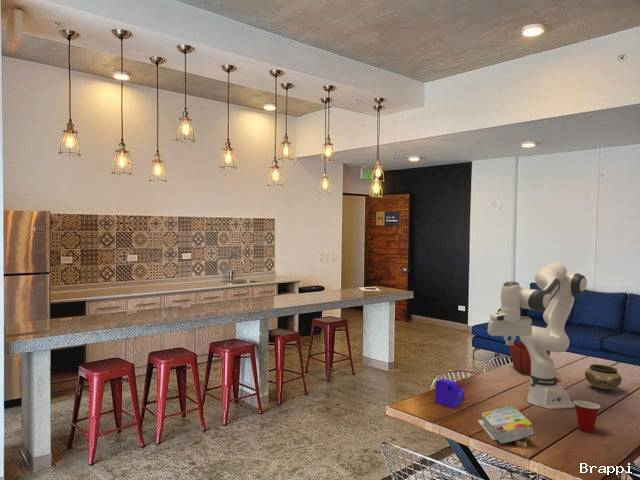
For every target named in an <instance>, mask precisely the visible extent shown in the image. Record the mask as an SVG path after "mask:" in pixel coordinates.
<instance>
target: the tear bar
mask: <svg viewBox="0 0 640 480" xmlns="http://www.w3.org/2000/svg"><path fill="white" fill-rule="evenodd" d="M513 443H514V444H515V445H516V446H517V447H527V445H528V444H527V443H528V438H527V437H526V438H522V439H518V440H514V441H513Z"/></svg>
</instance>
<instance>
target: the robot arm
mask: <svg viewBox="0 0 640 480" xmlns="http://www.w3.org/2000/svg"><path fill="white" fill-rule="evenodd" d="M534 281H535V284H536V285H537V287H538V288H539V289H532V288H526V287H522V286H520V285H521V284H520V283H519V282H518V281H506V282H503V284H502V286H501V290H500V304H501V306H500V310H499V311H497V312H494V313H491V314H489V318H490V320H489V321H488V324H487V334H488V335H489V336H491V337H494V336H495V337H503V339H504V341H505V346H509V345H513V342H515V340H516V338H517V337H519V340H520V342H522V343H523V344H524V345H525V346H526V348H527V350H528V352H529V355H530V358H531V374H530V375H529V388H528V389H529V391H528V394H527V398H526V401H527V403H530V404H531V405H534V406H537V407H541V408H544V409H548V410H553V409H554V410H557V409H570V408H571V409H575V404H574V401H573V400H570V394H569V392H567V391H566V390H565V389H564V388H563V387H562V386H561V385H559V384H561V383H563V381H562V379H560V378H558V377H556V376H555V361H554V360H553V358H552V357H551V356H548V354H547V352H546V350H547V351H551V352H552V353H564V352H566V351H567V350H568V348H569V347H570V339H569V336H568V334H567V333H566V331H565V326H566V322H567V321H568V318H569V316H570V314H571V311H572V309H573V306H574V303H575V298H576V297H579V295H581V294H582V293H584V292H585V291H586V288H587V283H588V282H587V278H586V276H585V275H583V274H580V273H578V272H577V273H575V272H573V271H572V272H571V271H568V270H567V267H566V265H565V264H564V263H562V262H558V261H555V262H551V263H549V264H547V265H544V267H542V268H540V269H539V270H538V271H537V272H536V273H535V275H534ZM521 309H526V310H532V311H535V312H540V313H541V312H543V314H542V318H543V321H544V322H545V323H546V324H547V326H546V327H541V326H536V325H532V322H533V321H532V317H529V316H527V315H526V316H523V315H522V316H521ZM509 337H510V338H511V339H510V340H508V339H509ZM551 352H550V353H551Z"/></svg>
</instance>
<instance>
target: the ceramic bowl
mask: <svg viewBox="0 0 640 480" xmlns="http://www.w3.org/2000/svg"><path fill="white" fill-rule="evenodd" d="M584 376H585V377H584V378H585V379H586V381H587V382H588V383H589V384H590V385H591V386H592V389H594V390H595V391H598V392H601V393H611V392H613V389H616V388H617V387H619V386H620V385H621V383H622V381H623V380H622V376H621V373H619V372H618V369H617V368H616V367H614V366H610V365H606V364H605V365H604V364H599V363H591V364H590V365H589V368H587V369H586V370H585V372H584Z"/></svg>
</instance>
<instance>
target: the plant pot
mask: <svg viewBox="0 0 640 480" xmlns="http://www.w3.org/2000/svg"><path fill="white" fill-rule="evenodd" d="M508 347H509V354H510V357H511V362H512V365H513V368H514V370H516V371H517V373H519V374H521V375H523V376H530V374H531V358H530V355H529V352H528V350H527V348H526V346H525V345H524V344H523V343H522V341H517V342H516V341H514V342H513V345H508ZM546 352H547V354H548V356H549V357H551V356H550V355H551V351H547V350H546Z"/></svg>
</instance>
